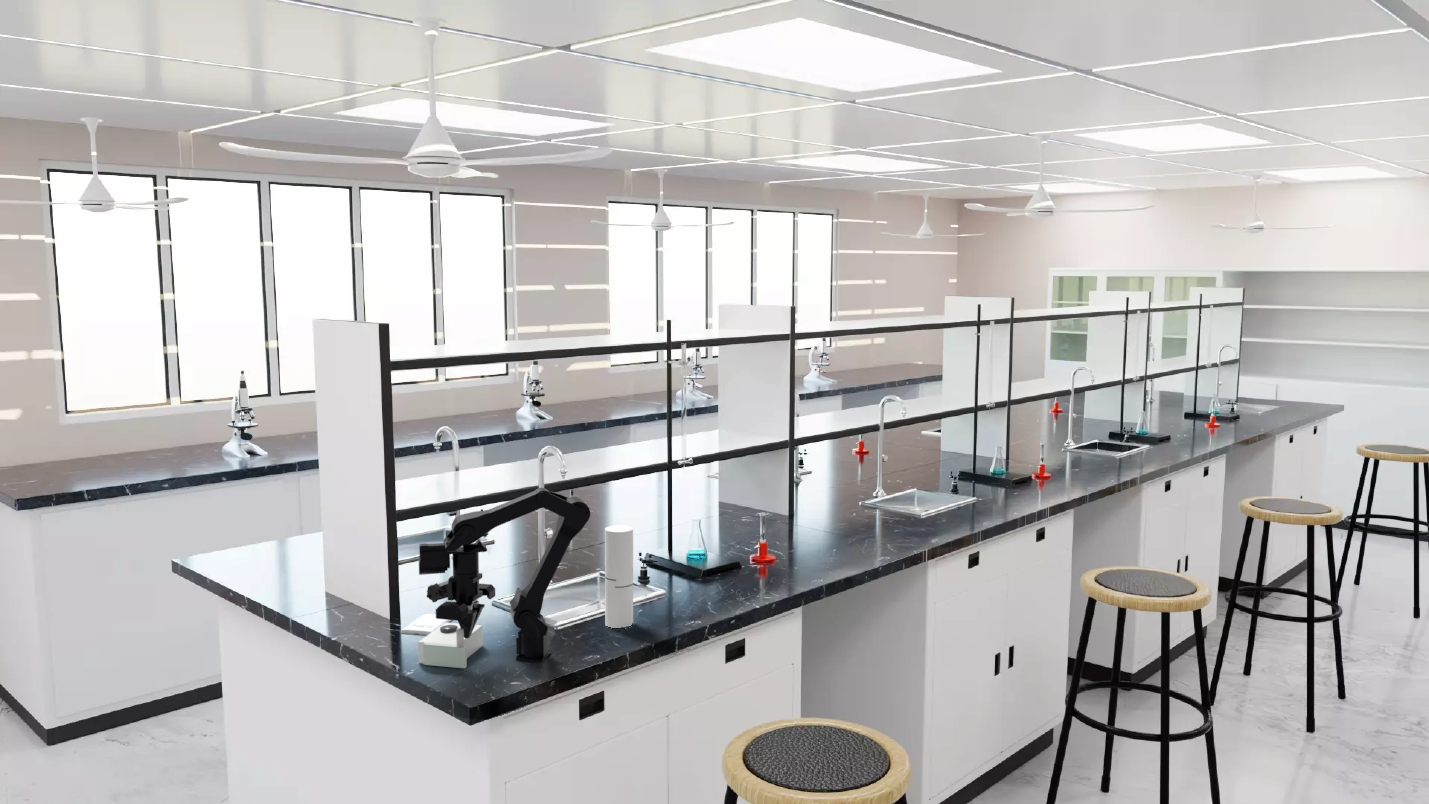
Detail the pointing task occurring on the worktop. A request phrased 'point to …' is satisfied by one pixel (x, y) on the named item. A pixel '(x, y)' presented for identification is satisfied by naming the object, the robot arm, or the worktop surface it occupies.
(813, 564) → the worktop surface
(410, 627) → the external hard drive
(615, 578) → the cylindrical container
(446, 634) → the instrument case
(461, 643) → the side door
